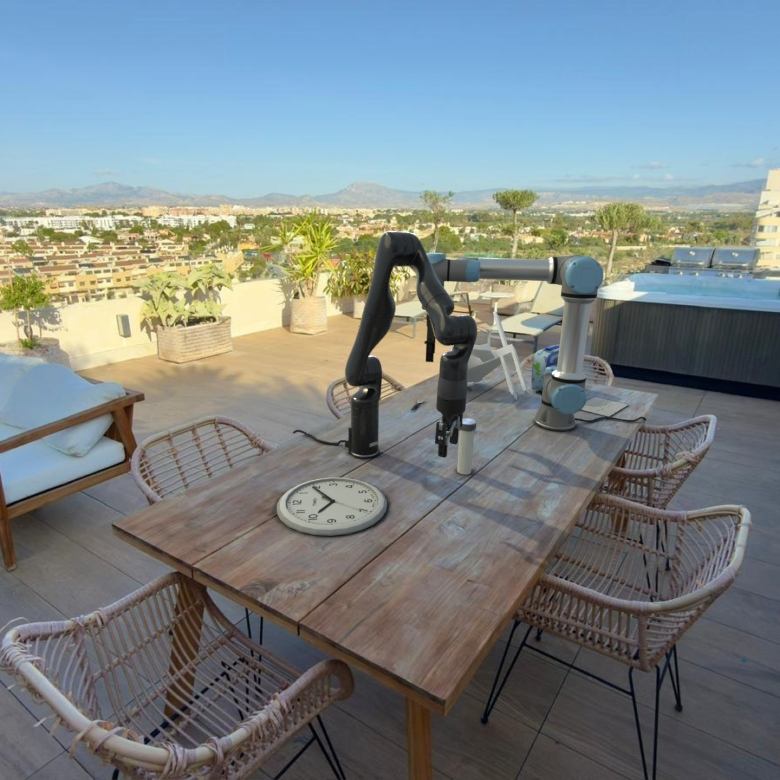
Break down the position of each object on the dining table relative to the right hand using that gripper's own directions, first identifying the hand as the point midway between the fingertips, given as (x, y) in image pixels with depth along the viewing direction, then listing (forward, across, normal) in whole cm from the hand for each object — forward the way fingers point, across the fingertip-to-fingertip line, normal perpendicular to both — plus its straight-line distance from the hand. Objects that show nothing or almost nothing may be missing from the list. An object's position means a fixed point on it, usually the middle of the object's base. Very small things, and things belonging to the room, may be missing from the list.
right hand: (430, 357), depth 190 cm
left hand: (+12, +56, +8) cm, 57 cm away
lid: (+12, +34, +13) cm, 38 cm away
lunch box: (+28, -61, +56) cm, 88 cm away
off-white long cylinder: (+28, +34, +13) cm, 46 cm away
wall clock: (+28, +61, -23) cm, 71 cm away
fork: (+28, -26, -6) cm, 39 cm away
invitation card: (+28, -38, +73) cm, 87 cm away
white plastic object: (+28, -50, +22) cm, 61 cm away
